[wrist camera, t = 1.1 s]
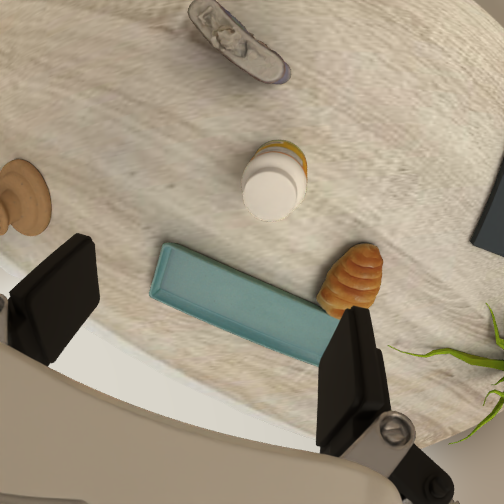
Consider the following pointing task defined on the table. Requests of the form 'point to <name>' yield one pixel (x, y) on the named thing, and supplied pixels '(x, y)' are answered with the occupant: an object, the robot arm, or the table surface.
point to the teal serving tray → (241, 304)
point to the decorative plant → (477, 361)
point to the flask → (237, 42)
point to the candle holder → (23, 199)
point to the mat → (492, 220)
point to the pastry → (352, 280)
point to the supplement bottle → (275, 181)
